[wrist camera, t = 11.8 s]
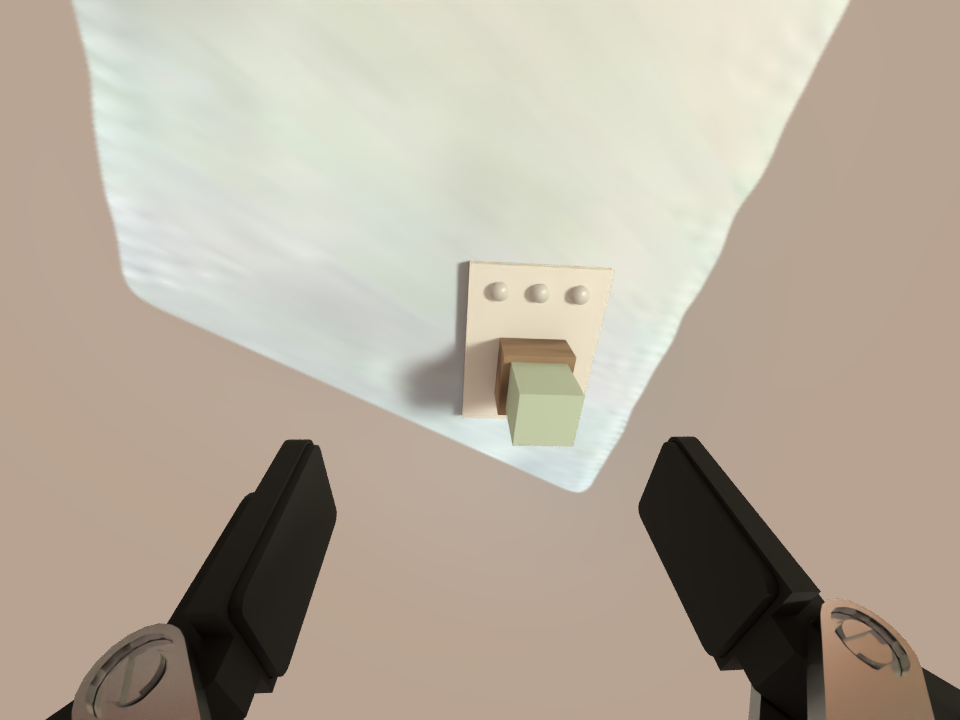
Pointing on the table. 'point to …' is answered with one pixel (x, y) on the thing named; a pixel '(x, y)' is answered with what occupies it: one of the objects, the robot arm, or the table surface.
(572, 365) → the walnut block
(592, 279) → the snap baseplate
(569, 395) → the sage block
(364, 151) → the table surface
